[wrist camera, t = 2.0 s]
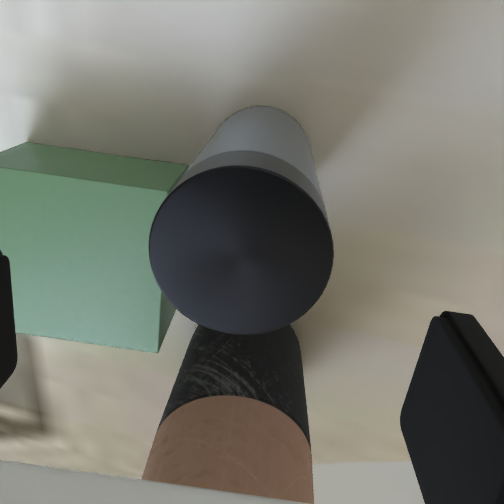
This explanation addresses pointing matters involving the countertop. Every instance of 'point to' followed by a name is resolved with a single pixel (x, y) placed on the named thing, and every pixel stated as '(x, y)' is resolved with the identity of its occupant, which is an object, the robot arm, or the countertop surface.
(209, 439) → the travel mug
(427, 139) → the countertop surface
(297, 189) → the steel flask
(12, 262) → the green block
